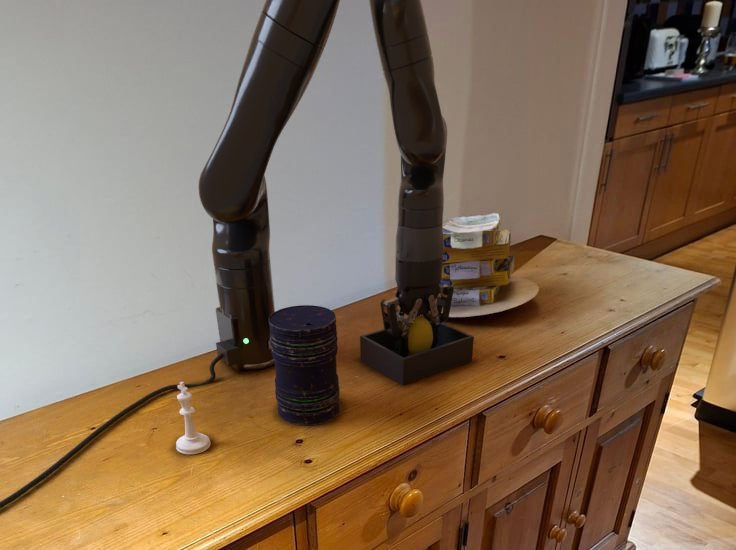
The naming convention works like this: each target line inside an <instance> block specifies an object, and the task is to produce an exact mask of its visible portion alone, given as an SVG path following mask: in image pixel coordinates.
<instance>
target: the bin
mask: <svg viewBox="0 0 736 550" xmlns="http://www.w3.org/2000/svg"><path fill="white" fill-rule="evenodd" d="M403 324H404V323H403ZM402 327H403V325H402ZM401 329H402V328H401ZM474 340H475V336H474V335H472V334H470V333H467V332H465V331H462V330H460V329H458V328H456V327H454V326H451V325H450V324H447V323H446V322H442V323H441V324H440V326H439V327H438V341H437V344H436V347H435V348H432V349H429V350H426V351H423V352H420V353H417V354H414V355H411V356H409V355H408V357H405V358H404V357H402V356H400V355H398V354H397V353H396V352H395V337H393V336H392V335H390V334H387V333H386V332H385V330H384V328H383V329H379V330H376V331H372V332H369V333H366V334H365V333H364V334H363V335H359V347H360V348H359V350H360V351H359V352H360V353H359V355H360V356H359V358H360V361H361V362H363V363H364V364H365V365H368V366H369V367H370V368H372V369H375V370H376V371H378V372H380V373H382V374H383V375H385V376H387V377H388V378H390V379H392V380H393V381H395V382H397V383H399V384H400V385H402V386H404V385H407V384H411V383H412V382H416V381H419V380H422V379H424V378H427V377H430V376H433V375H436V374H439V373H442V372H445V371H447V370H451V369H453V368H456V367H459V366H461V365H465V364H468V363H471V362H473V356H474V355H473V354H474V353H473V352H474V344H475V343H474V342H475V341H474Z"/></svg>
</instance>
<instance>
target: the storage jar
mask: <svg viewBox="0 0 736 550" xmlns="http://www.w3.org/2000/svg"><path fill="white" fill-rule="evenodd" d="M269 326H270V344H271V347H272V349H271V353H272V356H273V358H274V362H275V364H274V370H275V378H274V387H275V389H274V393H275V400H276V405H277V415H278V417H279V418H280V419H281V420H282V421H284V422H286V423H288V424H292V425H296V426H315V425H317V426H318V425H321V424H325V423H327V422H329V421H331V420H334V419H335V418H336V417H337V416H338V415H339V413H340V410H341V409H340V395H341V394H340V391H341V390H340V389H341V388H340V384H339V383H340V382H339V380H340V379H339V375H338V373H337V372H338V371H337V354H338V349H339V347H338V331H337V315H336V313H335V312H334V311H333V309H330V308H327V307H324V306H320V305H312V304H311V305H309V304H303V305H302V304H299V305H293V306H286V307H283V308H280V309H277V310H275V312H274V313H272V314H271V315H270V317H269Z"/></svg>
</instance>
